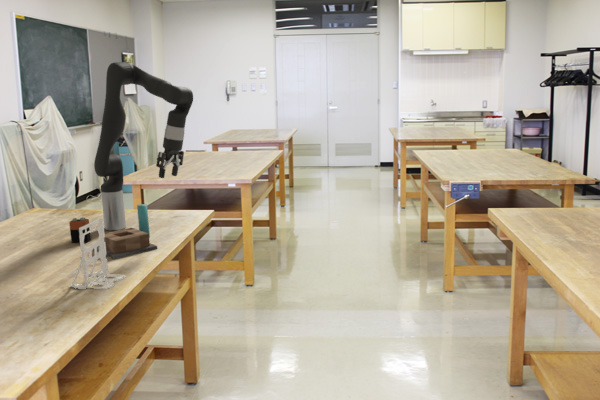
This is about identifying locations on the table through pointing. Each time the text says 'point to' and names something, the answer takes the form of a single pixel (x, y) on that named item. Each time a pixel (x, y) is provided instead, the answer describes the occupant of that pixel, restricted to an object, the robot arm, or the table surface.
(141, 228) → the peg
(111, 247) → the socket block
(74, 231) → the battery
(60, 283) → the table surface
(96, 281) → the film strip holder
